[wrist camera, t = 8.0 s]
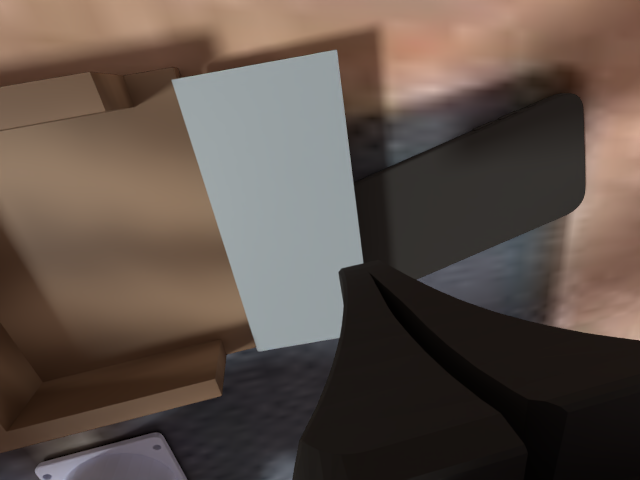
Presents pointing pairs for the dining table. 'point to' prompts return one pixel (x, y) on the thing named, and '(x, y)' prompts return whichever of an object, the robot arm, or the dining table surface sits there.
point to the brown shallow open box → (106, 259)
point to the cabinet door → (279, 189)
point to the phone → (475, 189)
